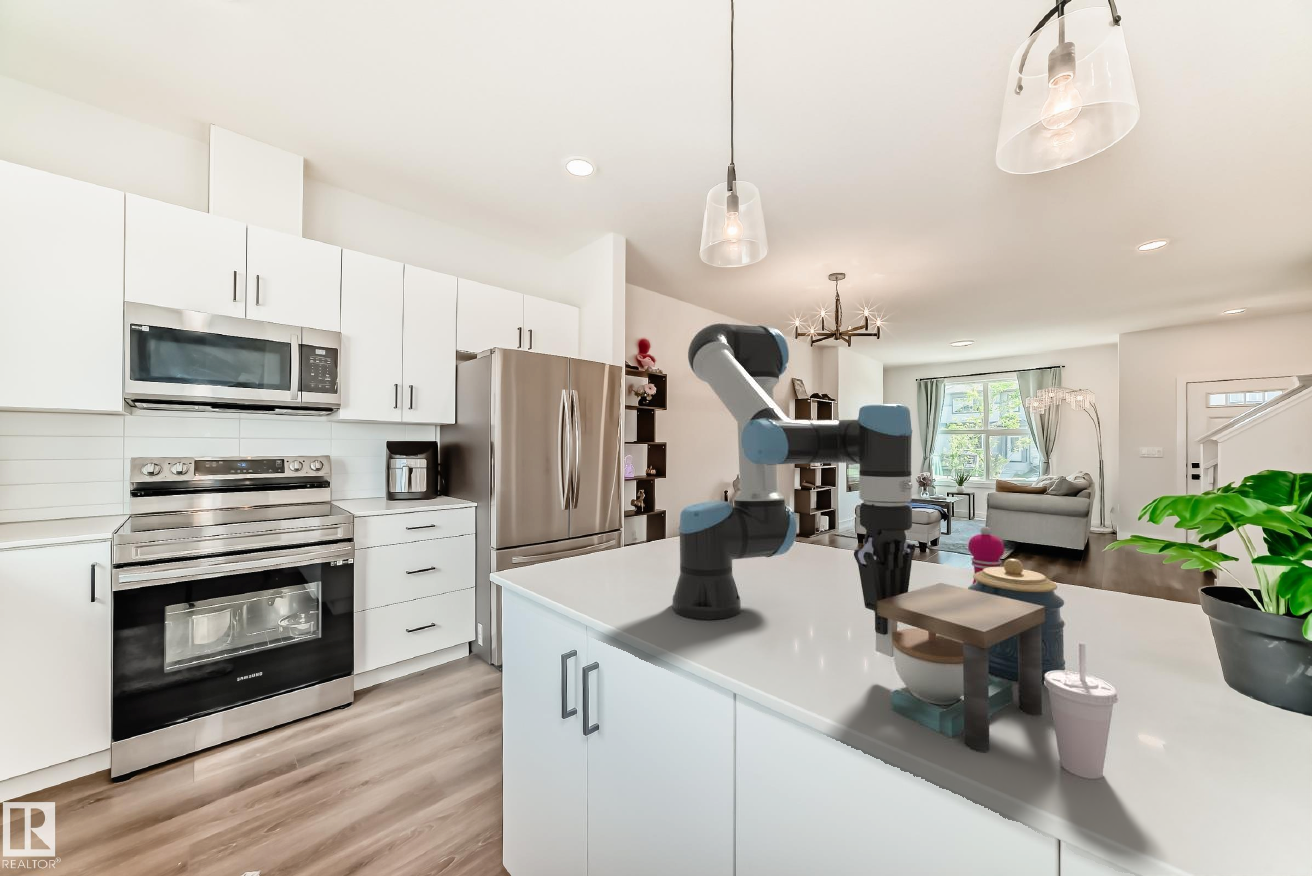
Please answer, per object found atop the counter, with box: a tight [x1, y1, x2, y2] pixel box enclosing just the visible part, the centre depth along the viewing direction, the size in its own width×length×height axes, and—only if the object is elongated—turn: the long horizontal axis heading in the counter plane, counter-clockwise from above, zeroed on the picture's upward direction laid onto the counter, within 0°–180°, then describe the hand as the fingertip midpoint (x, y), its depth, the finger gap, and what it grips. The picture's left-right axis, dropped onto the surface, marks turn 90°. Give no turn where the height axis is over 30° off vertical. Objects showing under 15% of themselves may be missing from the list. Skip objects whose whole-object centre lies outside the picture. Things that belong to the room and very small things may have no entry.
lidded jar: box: [892, 627, 964, 706], centre depth 74 cm, size 11×11×9 cm
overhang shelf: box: [877, 582, 1045, 753], centre depth 70 cm, size 14×17×14 cm
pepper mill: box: [967, 526, 1005, 585], centre depth 101 cm, size 7×7×20 cm
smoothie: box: [1043, 641, 1119, 780], centre depth 57 cm, size 6×6×14 cm
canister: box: [967, 558, 1066, 684], centre depth 83 cm, size 13×13×18 cm
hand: (886, 652), depth 80 cm, fingers closed
